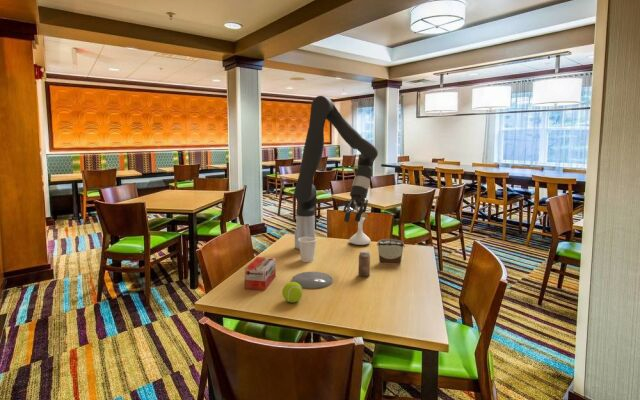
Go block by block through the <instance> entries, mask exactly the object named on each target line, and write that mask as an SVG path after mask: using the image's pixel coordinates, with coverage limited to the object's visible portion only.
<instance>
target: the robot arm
mask: <svg viewBox="0 0 640 400" xmlns="http://www.w3.org/2000/svg"><path fill="white" fill-rule="evenodd" d="M309 115H310V116H309V122H308V123H309V125H308V128H307V133H306V138H305V142H304V145H303V151H302V157H301V163H300V168H299V174H298V178H297V181H296V184H295V187H294V190H293V191H294V192H293V193H294V198H295V199H296V201H297V202H298V205H297V208H296V210H295V211H296V212H295V215H296V217H295V219H296V222H295V223H296V225H295V227H296V228H295V229H294V248H295V249H297V250H299V251H300V247H299V241H298V239H299V238H301V237H314V238H315V237H316V236H315V231H316V230H315V228H316V227H315V226H316V224H315V223H316V217H315V216H316V215H315V214H316V208H317V188H316V186H315V184H313V182H314V177H315V174H316V172H317V170H318V168H319V167H320V166H319V165H320V164H321V161H322V157H323V152H324V146H325V137H324V136H325V135H324V131H325V130H324V129H325V125H326V121H328V122H329V123H330V124H331V125H332V126H333V128H335V129H336V131H337V132H338V135H339V136H340V137H341V138H342V139H343V141H345V143H346V144H348V146H349V147H350V148H352V149H353V150H357V151H358V152H359V153H360V155H359V158H358V165H357V169H356V172H355V176H354V179H353V181H352V186H351V189H350V193H349V196H350V197H351V198H350V200H349V199H346V201H345V204H344V207H343V209H342V212H343V213H344V214H345V215H344V218H343V222H345V223H349V221H350V218H351V214H352V213H353V212H355V211H356V209H357V211H356V213H355V218H354V222H356V223H358V222H359V221H360V218H361V217H362V216H361V214H362V215H363V213H367V212H366V211H367V207H368V203H369V199H367V196H368V193H369V187H370V185H371V180H372V179H371V178H372V174H373V165H374V163H375V160H376V159H377V157H378V155H379V152H378V149H377V147H376V146H375V145H374V144H373V143H372V142H370V141H369V140H367V139H366V138H364V137H363V136H362V135H361V134H360V132H359V131H358V130H356V129H355V127H354V126H352V124H351V123H349V122H348V120H346V118H344V116H343V115H342V114H341V112H340V111H339V110H338V109H337V107H336V105H335V104H334V102H333V101H332V99H331V98H329V97H327V96H324V95H317V96H316V97H315V98H313V99H312V101H311V105H310V113H309ZM363 207H364V209H363ZM357 212H358V213H357Z"/></svg>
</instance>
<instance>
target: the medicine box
mask: <svg viewBox="0 0 640 400" xmlns="http://www.w3.org/2000/svg"><path fill="white" fill-rule="evenodd" d="M276 261H277V258H273V257H261V256H257V257H256V258H254V259H253V260H252V261H251V262H250V264H248V265H247V266H246V267H245V268H244V275H243V277H244V289H245V290H257V291H266V290H267V289H268V287H269V286H271V283H272V282H273V281H274V280H275V278H276V275H277V273H276V270H277V269H276V267H277V263H276Z"/></svg>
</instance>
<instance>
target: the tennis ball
mask: <svg viewBox="0 0 640 400" xmlns="http://www.w3.org/2000/svg"><path fill="white" fill-rule="evenodd" d="M303 291H304V290H303V288H302V287H301V285H300V284H298V283H297V282H292V281H289V282H286V284H285V285H284V286H283V288H282V293H281V294H282V297H283V299H284V300H285V301H286V302H288V303H296V302H299V301H300V300H301V299H302V297H303V294H304V292H303Z"/></svg>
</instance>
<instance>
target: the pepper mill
mask: <svg viewBox="0 0 640 400" xmlns="http://www.w3.org/2000/svg"><path fill="white" fill-rule="evenodd" d="M370 268H371V255H370V251H368V250H360V251H359V255H358V269H357V271H358V277H359V278H363V279H366V278H370V273H371V271H370V270H371V269H370Z"/></svg>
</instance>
